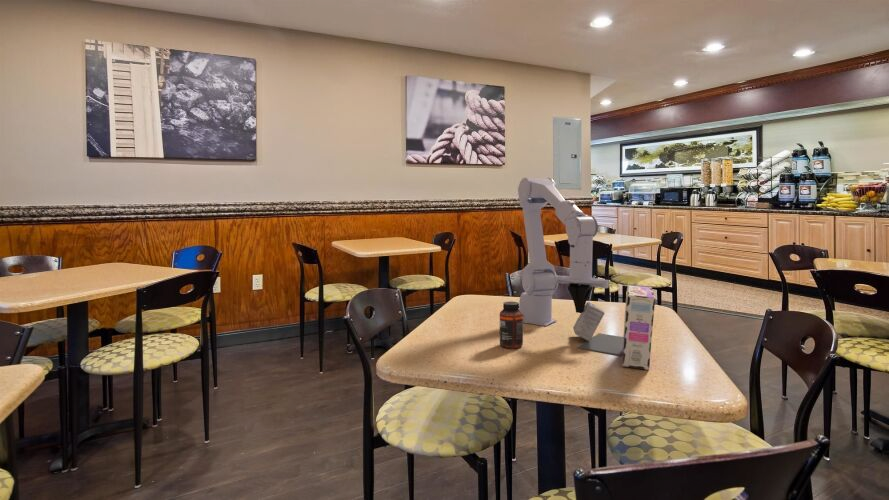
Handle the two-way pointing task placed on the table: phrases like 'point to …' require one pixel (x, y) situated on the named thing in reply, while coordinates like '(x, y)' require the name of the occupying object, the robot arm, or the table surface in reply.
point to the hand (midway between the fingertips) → (579, 312)
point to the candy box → (638, 326)
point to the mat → (604, 344)
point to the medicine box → (588, 321)
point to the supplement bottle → (511, 326)
